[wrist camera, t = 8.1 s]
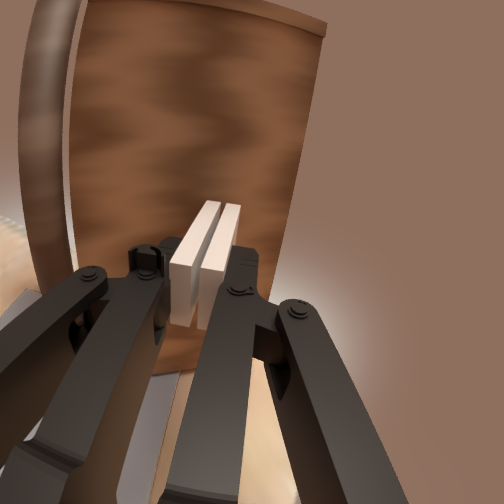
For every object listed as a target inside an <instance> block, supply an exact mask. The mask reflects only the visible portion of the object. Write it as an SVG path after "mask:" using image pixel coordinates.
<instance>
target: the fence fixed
mask: <svg viewBox="0 0 504 504" xmlns="http://www.w3.org/2000/svg"><path fill="white" fill-rule="evenodd" d="M80 4H81V0H37V2H36V5H35V9H34V13H33V16H32V21H31V25H30V29H29V33H28V38H27V43H26V49H25V55H24V61H23V68H22V76H21V85H20V96H19V113H18V157H19V174H20V186H21V196H22V204H23V212H24V219H25V225H26V231H27V236H28V241H29V246H30V251H31V256H32V260H33V264H34V268H35V272H36V276H37V280H38V284H39V287H40V291H41V294H42V296H43V295H44V294H46V293H47V292H48V291H50V290H51V289H52V288H53V287H55V286H56V285H57V284H59V283H60V282H61V281H63V280H64V279H65V278H67V277H68V276H70V275H71V274H72V273H74V270H73V265H72V259H71V253H70V247H69V240H68V233H67V224H66V215H65V205H64V191H63V171H62V127H63V108H64V94H65V85H66V75H67V68H68V61H69V55H70V49H71V43H72V38H73V32H74V29H75V24H76V20H77V15H78V11H79V8H80ZM81 320H82V318H81V315H79V316H78V317H77V318H76V319H75V321H76V323H79V322H80V321H81Z"/></svg>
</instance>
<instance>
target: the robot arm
mask: <svg viewBox="0 0 504 504" xmlns="http://www.w3.org/2000/svg"><path fill="white" fill-rule="evenodd" d="M220 207H221V202H216V201H209V200H207V201H206V203H205V204H204V206H203V207H202V209H201V210H200V212H199V214H198V215H197V217H196V219H195V220H194V222H193V223H192V225H191V227H190V228H189V230H188V232H187V233H186V235H185V237H184V238H178V237H172V236H169V237H167V238H165V239H163V240H161V242H160V243H159V245H158V246H156V245H152V244H142V245H137V246H134V247H132V248H131V249H129V250H128V259H129V273H128V274H127V276H126V277H122V278H108V277H107V272H106V270H105V269H103V268H102V267H99V266H93V265H92V266H91V265H90V266H86V267H82V268H80V269H78V270H76V271H75V272H74V273H72V274H71V275H70V276H68V277H67V278H65V279H64V280H63V281H61V282H60V283H59V284H57V285H56V286H55V287H53V288H52V289H51V290H50V291H48V292H47V293H46V294H44V295H43V296H42V297H40V298H39V299H38V300H37V301H35V302H34V303H33V304H32V305H30V306H29V307H28V308H27V309H25V310H24V311H23V312H22V313H20V314H19V315H18V316H17V317H16V318H14V319H13V320H12V321H11V322H10V323H8V324H7V325H6V326H5V327H4V328H3V329H1V330H0V470H1V468H2V467H3V466H4V465H5V466H4V469H3V471H2V474H1V476H0V504H117V498H116V492H117V487H118V483H119V480H120V476H121V472H122V469H123V465H124V461H125V458H126V454H127V451H128V448H129V444H130V441H131V437H132V434H133V431H134V428H135V424H136V421H137V418H138V415H139V412H140V408H141V405H142V402H143V399H144V396H145V393H146V390H147V387H148V384H149V381H150V378H151V375H152V372H153V369H154V366H155V364H156V361H157V358H158V355H159V352H160V349H161V347H162V344H163V341H164V338H165V336H166V333H167V319H168V317H169V315H170V323H171V324H176V325H181V326H186V327H190V324H191V321H192V318H193V314H194V311H195V308H196V305H197V302H198V321H197V329H202V330H206V334H205V337H204V341H203V344H202V348H201V352H200V355H199V359H198V363H197V366H196V370H195V374H194V377H193V381H192V385H191V388H190V392H189V396H188V400H187V404H186V407H185V411H184V415H183V419H182V423H181V427H180V431H179V434H178V438H177V442H176V446H175V450H174V454H173V458H172V462H171V466H170V471H169V475H168V479H167V483H166V487H165V490H164V492H163V494H162V495H161V497H160V498H159V501H158V503H157V504H238V493H239V484H240V474H241V465H242V456H243V446H244V436H245V427H246V417H247V407H248V397H249V387H250V376H251V366H252V357H253V358H256V359H258V360H261V361H263V362H264V368H265V372H266V376H267V380H268V384H269V387H270V391H271V395H272V399H273V403H274V406H275V410H276V414H277V417H278V421H279V425H280V429H281V432H282V436H283V440H284V443H285V447H286V450H287V454H288V458H289V461H290V465H291V468H292V472H293V476H294V479H295V483H296V486H297V490H298V493H299V497H300V500H301V503H302V504H409V503H408V501H407V499H406V497H405V494H404V492H403V489H402V487H401V485H400V482H399V480H398V478H397V476H396V473H395V471H394V469H393V467H392V464H391V462H390V460H389V458H388V456H387V453H386V451H385V449H384V447H383V445H382V442H381V440H380V439H379V436H378V434H377V432H376V429H375V427H374V425H373V424H372V421H371V419H370V417H369V415H368V412H367V410H366V408H365V406H364V404H363V402H362V400H361V398H360V396H359V394H358V392H357V390H356V388H355V386H354V383H353V381H352V379H351V377H350V376H349V373H348V371H347V369H346V367H345V365H344V363H343V361H342V359H341V357H340V355H339V353H338V351H337V349H336V347H335V345H334V343H333V341H332V339H331V338H330V335H329V333H328V331H327V329H326V327H325V325H324V323H323V322H322V320H321V318H320V316H319V314H318V312H317V310H316V309H315V308H314V307H313V306H312V305H311V304H309V303H308V302H305V301H302V300H297V299H288V300H285V301H283V302H281V303H280V305H279V306H278V305H275V304H273V303H270V302H268V301H266V300H265V299H263V298H262V297H261V296H260V295H259V293H258V290H257V278H258V262H259V254H258V253H257V251H256V250H255V249H254V248H248V247H241V246H235V244H236V236H237V229H238V222H239V215H240V208H241V205H236V204H230V203H226V206H225V208H224V211H223V213H222V215H221V218H220V220H219V216H220ZM198 299H199V301H198ZM79 315H81V318H82V320H81V321H80V322H79V323H76V321H75V319H76V318H77V317H78V316H79ZM42 417H43V418H42ZM41 419H42V421H41V423H40V425H39V427H38V429H37V431H36V433H35V435H34V437H33V438H32V439H30V440H27V441H24V439H25V438H26V437H27V436H28V434H29V433H30V432H31V431H32V430H33V428H34V427H35V426H36V425H37V423H38V422H39V421H40V420H41Z"/></svg>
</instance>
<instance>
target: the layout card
mask: <svg viewBox="0 0 504 504" xmlns="http://www.w3.org/2000/svg"><path fill="white" fill-rule="evenodd" d="M40 297H42V294H41V293H38V292H35V291H32V290H29V289H26V290H25V291H24V292H23V293H22V294H21V295H20V296H19V297H18V298H17V299H16V301H15V302H14V303H13V304H12V305H11V306H10V307H9V308H8V309H7V311H6V312H5V313H4V314H3V315H2V316H1V318H0V330H1V329H3V328H4V327H5V326H6V325H7V324H8V323H10V322H11V321H12V320H13V319H14V318H16V317H17V316H18V315H19V314H20V313H22V312H23V311H24V310H25V309H27V308H28V307H29V306H30V305H32V304H33V303H34V302H35V301H37V300H38V299H39V298H40ZM180 372H181V370H179V371H173V372H166V373H159V374H152V375H151V378H150V381H149V384H148V387H147V390H146V393H145V396H144V399H143V402H142V405H141V408H140V412H139V415H138V418H137V421H136V424H135V428H134V431H133V434H132V437H131V441H130V444H129V448H128V451H127V454H126V458H125V461H124V465H123V469H122V472H121V476H120V480H119V483H118V487H117V492H116V498H117V504H149V501H150V496H151V492H152V487H153V482H154V478H155V473H156V469H157V465H158V460H159V456H160V452H161V447H162V443H163V439H164V435H165V431H166V427H167V423H168V419H169V415H170V411H171V407H172V403H173V399H174V395H175V391H176V388H177V384H178V380H179V376H180ZM42 418H43V417H42ZM41 421H42V419H41V420H40V421H39V422H38V423H37V425H36V426H35V427H34V428H33V430H32V431H31V432H30V433H29V434H28V436H27V437H26V438H25V439H24V441H27V440H30V439H32V438H33V437H34V435H35V433H36V431H37V429H38V427H39V425H40V423H41ZM4 466H5V465H4ZM4 466H3V467H2V468H1V470H0V476H1V474H2V471H3V469H4Z"/></svg>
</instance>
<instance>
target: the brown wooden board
mask: <svg viewBox="0 0 504 504" xmlns="http://www.w3.org/2000/svg"><path fill="white" fill-rule="evenodd" d="M326 29H327V23H326V22H324V21H321V20H319V19H316V18H314V17H311V16H309V15H306V14H303V13H301V12H298V11H295V10H292V9H289V8H286V7H283V6H280V5H277V4H274V3H270V2H267V1H263V0H88V4H87V8H86V12H85V16H84V20H83V25H82V29H81V34H80V40H79V44H78V50H77V56H76V63H75V70H74V77H73V87H72V97H71V110H70V128H69V174H70V175H69V177H70V196H71V209H72V219H73V229H74V237H75V245H76V252H77V258H78V265H79V269H80V268H82V267H86V266H90V265H91V266H92V265H93V266H99V267H102V268H103V269H105V270H106V272H107V277H108V278H122V277H126V276H127V274H128V273H129V259H128V250H129V249H131V248H132V247H134V246H137V245H142V244H152V245H156V246H158V245H159V243H160V242H161V240H163V239H165V238H167V237H169V236H172V237H178V238H184V237H185V235H186V233H187V232H188V230H189V228H190V227H191V225H192V223H193V222H194V220H195V219H196V217H197V215H198V214H199V212H200V210H201V209H202V207H203V206H204V204H205V203H206V201H207V200H209V201H216V202H221V207H220V216H219V220H220V218H221V215H222V213H223V211H224V208H225V206H226V203H230V204H236V205H241V208H240V215H239V222H238V229H237V236H236V244H235V246H241V247H248V248H254V249H255V250H256V251H257V253H258V254H259V262H258V278H257V290H258V293H259V295H260V296H261V297H262V298H263V299H265V300H266V301H268V300H269V296H270V291H271V287H272V283H273V279H274V275H275V270H276V266H277V262H278V257H279V253H280V248H281V245H282V240H283V236H284V231H285V227H286V222H287V218H288V213H289V208H290V204H291V200H292V195H293V190H294V185H295V180H296V176H297V171H298V167H299V162H300V157H301V152H302V147H303V142H304V137H305V132H306V127H307V122H308V117H309V112H310V107H311V101H312V96H313V91H314V84H315V80H316V74H317V69H318V63H319V57H320V51H321V46H322V40H323V38H324V37H325V35H326ZM198 301H199V299H198ZM197 321H198V302H197V305H196V308H195V311H194V314H193V318H192V321H191V324H190V327H186V326H181V325H176V324H171V323H170V315H169V317H168V319H167V333H166V336H165V338H164V341H163V344H162V347H161V349H160V352H159V355H158V358H157V361H156V364H155V366H154V369H153V372H152V374H159V373H166V372H173V371H179V370H185V369H191V368H196V366H197V363H198V359H199V355H200V352H201V348H202V344H203V341H204V337H205V334H206V330H202V329H197Z"/></svg>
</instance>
